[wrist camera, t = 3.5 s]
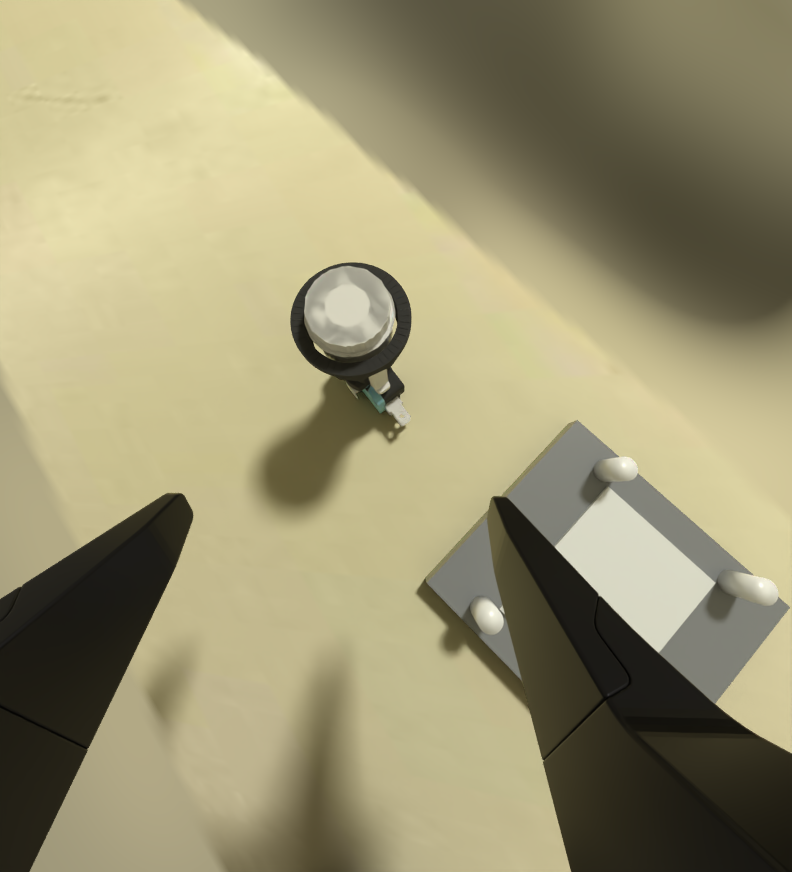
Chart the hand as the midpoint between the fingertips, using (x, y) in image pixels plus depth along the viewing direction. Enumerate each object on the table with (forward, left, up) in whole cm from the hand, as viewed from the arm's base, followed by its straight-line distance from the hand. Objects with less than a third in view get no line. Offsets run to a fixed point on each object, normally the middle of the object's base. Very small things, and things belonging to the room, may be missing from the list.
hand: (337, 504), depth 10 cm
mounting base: (+14, -6, -13) cm, 20 cm away
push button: (0, +7, -13) cm, 15 cm away
